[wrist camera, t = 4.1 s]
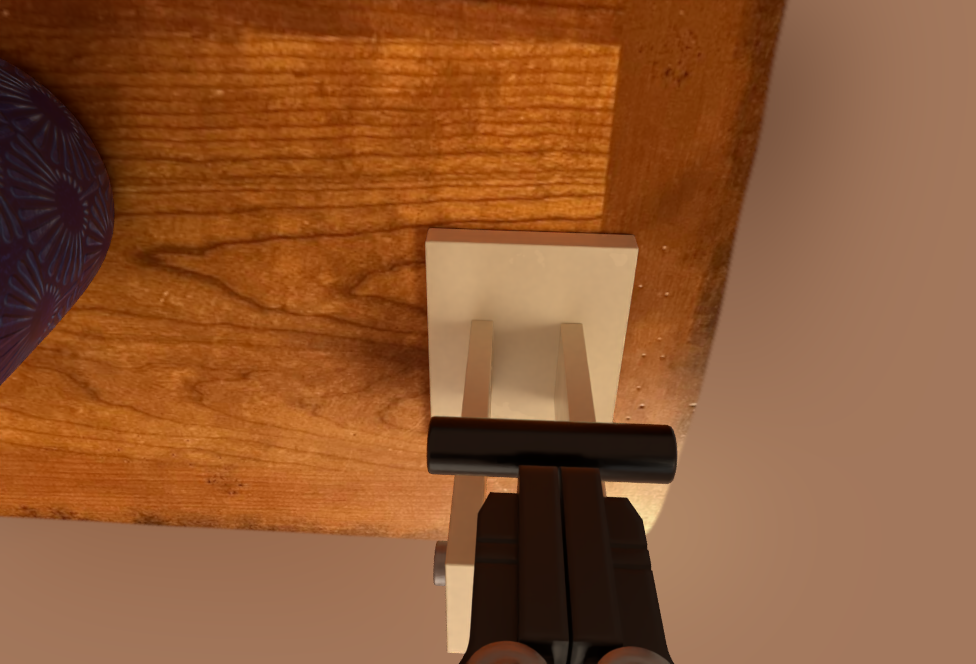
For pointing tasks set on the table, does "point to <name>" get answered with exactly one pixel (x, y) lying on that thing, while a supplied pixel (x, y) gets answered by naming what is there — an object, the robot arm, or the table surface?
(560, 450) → the lever
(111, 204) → the planter
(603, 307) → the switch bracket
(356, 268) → the table surface
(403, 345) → the table surface
